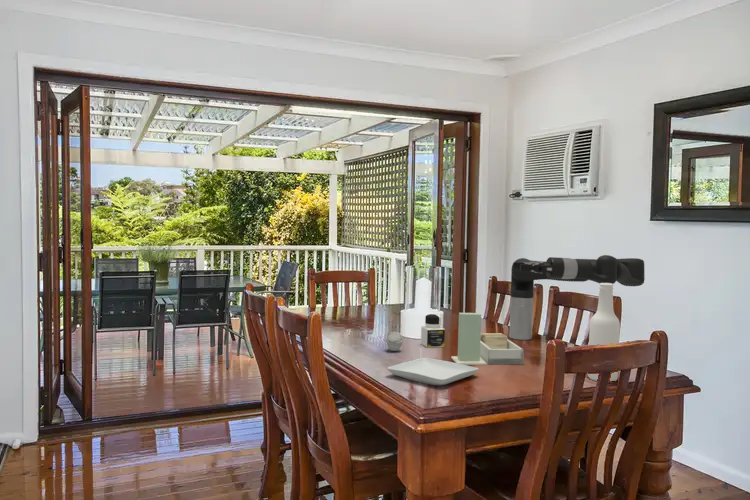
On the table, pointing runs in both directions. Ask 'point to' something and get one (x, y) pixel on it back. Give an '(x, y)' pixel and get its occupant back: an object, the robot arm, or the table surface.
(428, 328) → the medicine bottle
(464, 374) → the salad plate
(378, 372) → the table surface
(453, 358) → the pad
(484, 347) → the tray
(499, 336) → the offcut upper
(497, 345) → the offcut lower
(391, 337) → the frog figurine
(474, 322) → the board
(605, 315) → the alcohol
